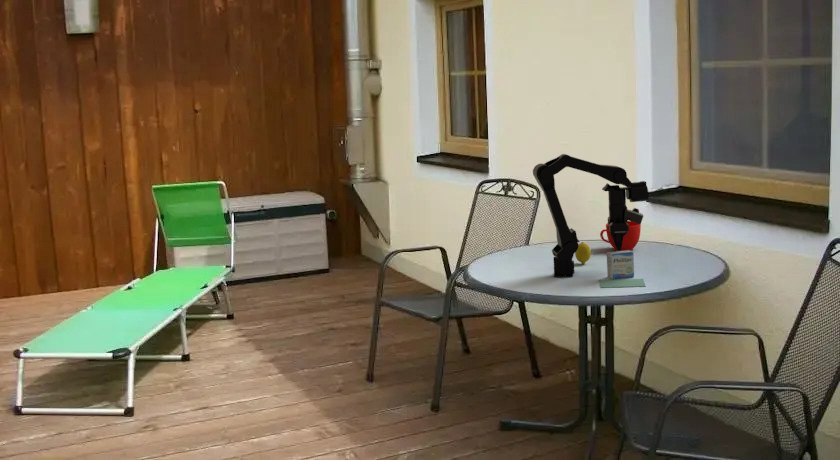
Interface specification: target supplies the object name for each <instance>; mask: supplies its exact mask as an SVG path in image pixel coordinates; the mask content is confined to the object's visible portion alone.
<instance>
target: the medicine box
mask: <svg viewBox="0 0 840 460" xmlns="http://www.w3.org/2000/svg"><path fill="white" fill-rule="evenodd" d="M634 256H635V255H634V251H633V250H625V251H616V250H615V251H608V252H606V274H607V275H606V276H607V277H608V278H610V280H615V279H630V278H634V277H635V265H634V264H635V263H634V260H635V259H634Z"/></svg>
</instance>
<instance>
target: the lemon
mask: <svg viewBox="0 0 840 460" xmlns="http://www.w3.org/2000/svg"><path fill="white" fill-rule="evenodd" d="M574 254H575V259H576V260H577V261H578V262H579V263H581V264H582V265H585V264H586V262H588V261H589V260H591V255H592V250H591V247H590V245H588V244H587V243H585V242H583V241H582V242H581V243H580V242H579V243H578V249H577V251H576V252H575V253H574Z"/></svg>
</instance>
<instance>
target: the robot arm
mask: <svg viewBox="0 0 840 460" xmlns="http://www.w3.org/2000/svg"><path fill="white" fill-rule="evenodd" d="M565 168H571V169H575V170H579V171H580V172H585V173H589V174H592V175H595V176H599V177H600V178H602V179H604V180H606V181H609V182H610V183H613V184H614V185H613V184H612V185H611V184H609V183H606V184H605V185H604V186H603V187H602V188H601V190H602V191H603V192H608V217H607V223H608V224H610V223H611V224H610V225H608V227H609V229H610V234H611V236H612V238H613V241H614V243H615V245H616V248H617V250H618V251H621V248H622V243H623V238H624V236H625V235H626V234H627V233H628V231H629V225H628V224H627V223H626V222H628V221H632V222H635V223H637V224H641V225H642V221H643V219H644V214H643V213H642V212H640V211H639V209H638V208H636V207H633V209H628V207H627V204H626V203H627V202H626V201H627V200H629V202H630V203H636V202H648V200H649V198H650V192H649V189H648V186H647V181H644V180H643V181H642V180H641V181H635V182H632V181H631V180H630V179H629V178H628V174H627V171H626V170H625V168H623V167H621V166H618V165H612V164H611V165H609V164H598V163H595V162H591V161H588V160H585V159H582V158H578V157H574V156H571V155H568V154H566V153H561V154H560V155H559V156H557V157H555V158H553V159H550V160H548V161H546V162H545V163H538V164H536V165H535V166H534V167H533V169H532V175H533V177H534V179H535V181H536V183H537V184H538V185H539V187H540V189H541V190H542V192H543V195H544V197H545V201H546V203H547V207H548V209H549V212H550V214H551V218H552V220H553V224H554V226H555V229H556V230H555V231H556V241H557V244H556V245H555V246H554V247H553V248H552V250H551V252H552V255H553V278H562V277H563V278H564V277H565V278H569V277H574V274H575V261H574V260H573V258H574V254H575V252H576V251H577V249H578V244H579V243H580V240H579V239H578V237H577V231H576V230H575V229H573V228H572V227H571V228H570V227H569V225H568V223H567V220H566V217H565V214H564V211H563V209H562V206H561V202H560V200H559V197H558V194H557V191H556V187H555V184H556V183H555V182H556V180H555V177H554V176H555V175H558V173H560V172H561V171H563V170H564V169H565ZM620 185H622V186H623V187H620ZM626 199H627V200H626Z"/></svg>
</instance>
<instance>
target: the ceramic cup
mask: <svg viewBox="0 0 840 460" xmlns="http://www.w3.org/2000/svg"><path fill="white" fill-rule="evenodd" d="M626 223H627V224H628V225H629V231H628V233H627V234H626V235H625V236H624V238H623V243H622V248H621V251H625V250H630V251H633V250H634V248H635V247H636V246H637V245H638V243H639V241H640V237H641V230H642V229H641V228H642V227H641V226H642V223H641V224H637V223H635V222H632V221H629V220H628V222H626ZM610 224H611V223H610ZM610 224H608V222H607V223H606V224H605V229H602V230H601V231H600V234H599V235H600V239H601V240H602V241H603V242H605V243H608V244H609V245H611V246H612V248H613V249H614V250H615V251H618V250H617V248H616V245H615V243H614V241H613V238H612V236H611V234H610V229H609V227H608V225H610ZM604 232H606V237H607V239H606V238H605V237H604Z"/></svg>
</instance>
